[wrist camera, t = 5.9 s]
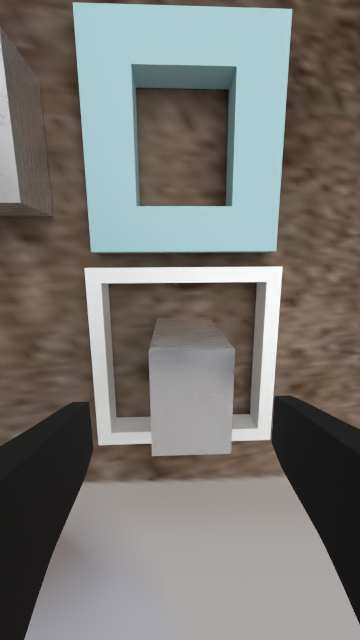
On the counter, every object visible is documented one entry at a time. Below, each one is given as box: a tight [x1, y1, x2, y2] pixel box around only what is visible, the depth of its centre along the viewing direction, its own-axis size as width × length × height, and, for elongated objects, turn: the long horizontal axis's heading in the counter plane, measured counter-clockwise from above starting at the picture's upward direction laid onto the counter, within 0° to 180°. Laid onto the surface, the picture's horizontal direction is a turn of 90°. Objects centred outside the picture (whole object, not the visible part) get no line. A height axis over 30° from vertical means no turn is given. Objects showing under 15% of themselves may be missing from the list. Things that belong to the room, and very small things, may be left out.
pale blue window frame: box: [73, 3, 292, 253], centre depth 17 cm, size 12×13×2 cm
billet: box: [149, 317, 235, 456], centre depth 17 cm, size 4×6×8 cm
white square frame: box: [84, 267, 282, 445], centre depth 19 cm, size 13×13×2 cm
